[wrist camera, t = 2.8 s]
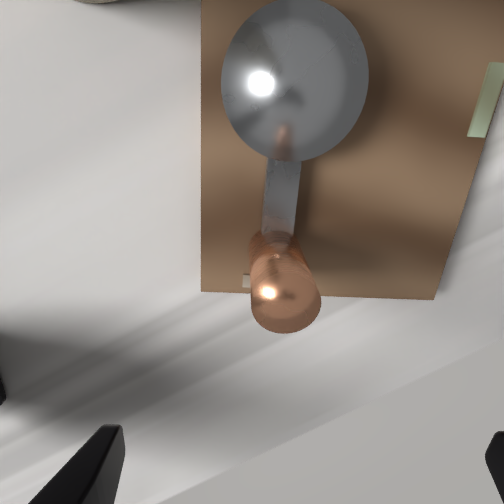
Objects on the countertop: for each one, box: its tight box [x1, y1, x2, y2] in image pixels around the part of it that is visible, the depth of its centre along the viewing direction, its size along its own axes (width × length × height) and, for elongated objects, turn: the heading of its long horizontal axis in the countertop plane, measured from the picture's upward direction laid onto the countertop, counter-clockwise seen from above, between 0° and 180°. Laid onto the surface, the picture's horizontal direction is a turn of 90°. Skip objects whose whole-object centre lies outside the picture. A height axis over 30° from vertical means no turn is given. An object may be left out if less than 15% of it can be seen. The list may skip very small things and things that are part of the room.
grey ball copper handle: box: [221, 0, 369, 334], centre depth 14 cm, size 12×6×6 cm, turn 177°
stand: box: [201, 0, 504, 300], centre depth 16 cm, size 21×14×3 cm, turn 176°
